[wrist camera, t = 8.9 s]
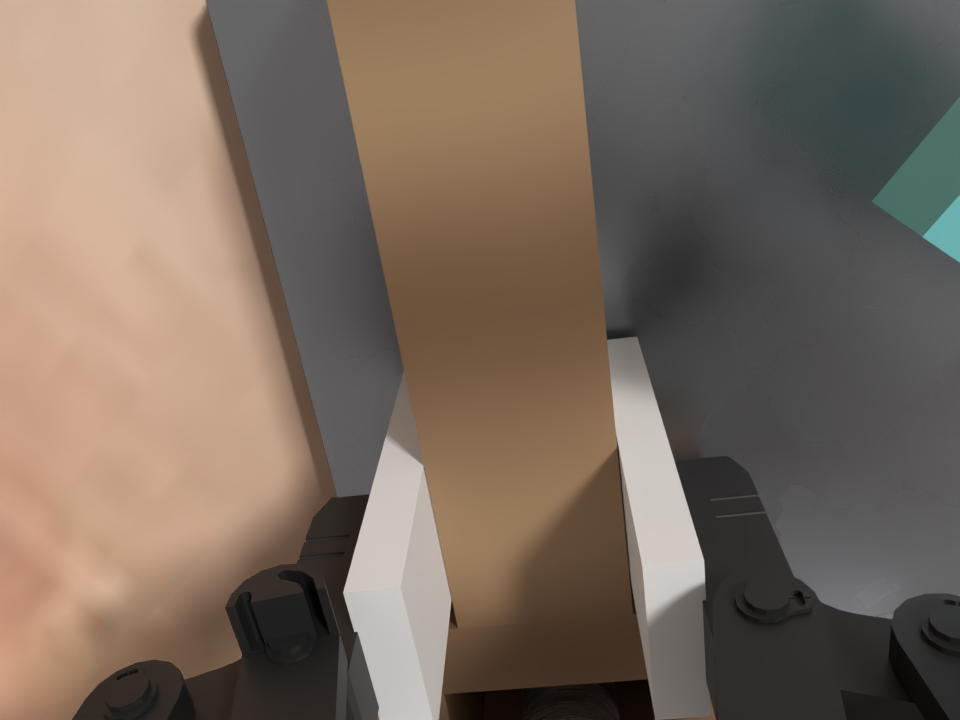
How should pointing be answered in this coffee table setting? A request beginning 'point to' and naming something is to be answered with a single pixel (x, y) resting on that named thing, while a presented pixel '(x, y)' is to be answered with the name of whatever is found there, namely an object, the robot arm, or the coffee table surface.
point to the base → (686, 262)
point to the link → (500, 335)
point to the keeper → (930, 187)
